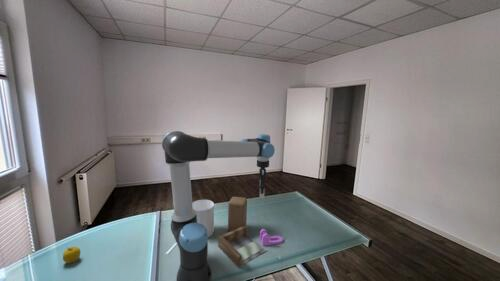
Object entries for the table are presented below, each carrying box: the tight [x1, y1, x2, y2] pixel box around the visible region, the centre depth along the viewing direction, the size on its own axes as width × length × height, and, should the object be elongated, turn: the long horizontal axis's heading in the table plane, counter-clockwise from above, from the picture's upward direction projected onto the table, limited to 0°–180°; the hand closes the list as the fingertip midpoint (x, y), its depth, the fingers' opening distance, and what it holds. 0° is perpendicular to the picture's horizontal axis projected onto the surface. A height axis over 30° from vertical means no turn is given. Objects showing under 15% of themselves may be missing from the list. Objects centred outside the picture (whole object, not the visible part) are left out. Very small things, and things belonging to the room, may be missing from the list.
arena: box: [217, 224, 267, 269], centre depth 106 cm, size 19×19×6 cm
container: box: [192, 199, 215, 238], centre depth 120 cm, size 14×14×18 cm
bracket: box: [259, 228, 283, 247], centre depth 114 cm, size 13×6×7 cm, turn 105°
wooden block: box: [227, 196, 248, 233], centre depth 123 cm, size 10×10×20 cm
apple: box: [62, 246, 81, 264], centre depth 94 cm, size 6×6×8 cm
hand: (261, 193), depth 120 cm, fingers open, 13 cm apart
